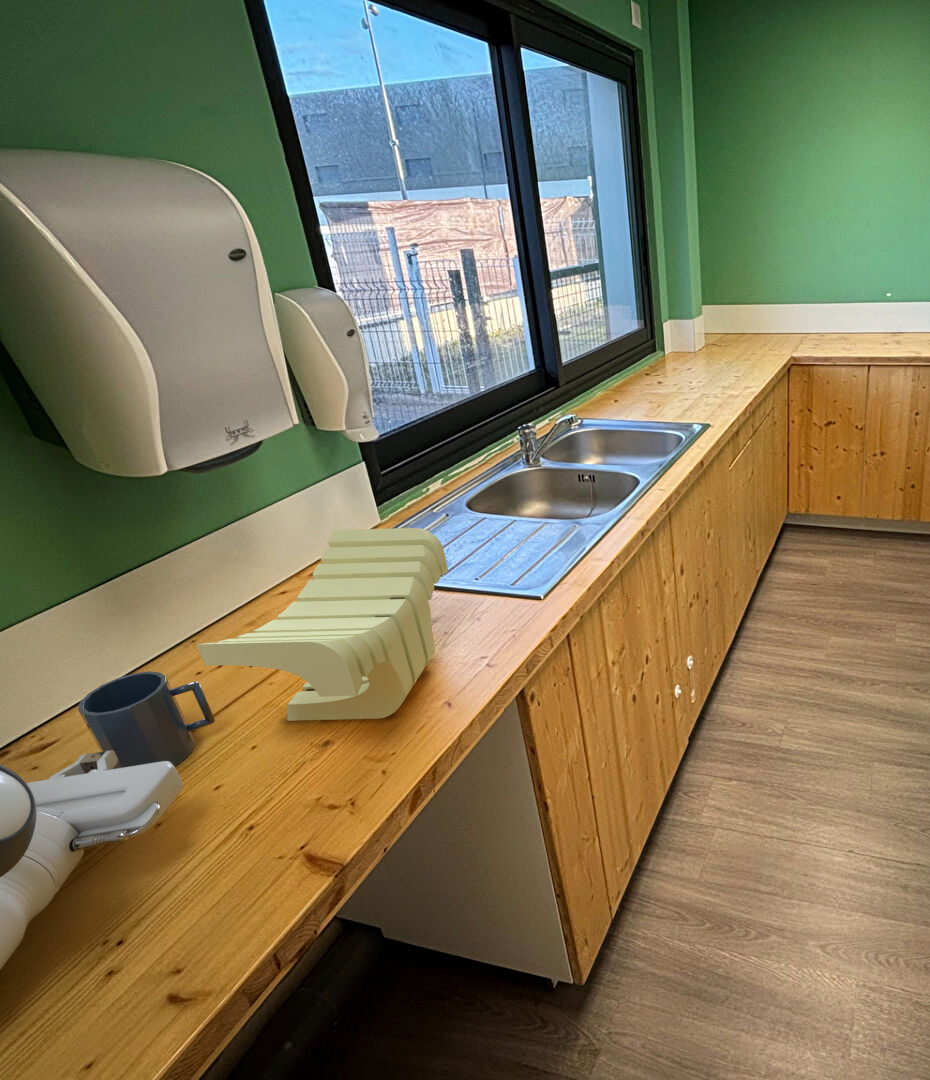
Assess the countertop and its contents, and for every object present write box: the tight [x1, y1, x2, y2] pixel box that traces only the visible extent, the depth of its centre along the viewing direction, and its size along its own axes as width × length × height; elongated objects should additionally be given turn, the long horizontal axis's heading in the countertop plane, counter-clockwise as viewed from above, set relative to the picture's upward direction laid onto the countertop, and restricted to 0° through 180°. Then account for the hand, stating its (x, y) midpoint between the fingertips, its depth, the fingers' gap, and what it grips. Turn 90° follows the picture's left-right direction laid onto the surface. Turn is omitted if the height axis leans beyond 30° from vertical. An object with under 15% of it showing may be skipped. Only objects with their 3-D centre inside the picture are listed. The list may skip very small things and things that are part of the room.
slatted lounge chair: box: [195, 527, 450, 722], centre depth 94 cm, size 30×16×18 cm, turn 0°
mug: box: [77, 671, 216, 769], centre depth 85 cm, size 11×8×10 cm
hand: (101, 756), depth 77 cm, fingers closed
